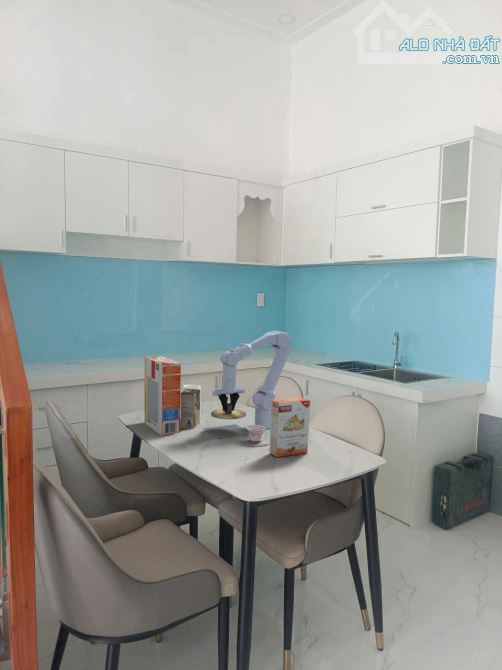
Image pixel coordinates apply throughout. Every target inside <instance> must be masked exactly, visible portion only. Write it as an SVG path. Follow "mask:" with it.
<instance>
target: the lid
mask: <svg viewBox="0 0 502 670" xmlns="http://www.w3.org/2000/svg"><path fill="white" fill-rule="evenodd" d="M210 416H211V417H212V418H214V419H215V418H216V419H219V420H239V419H242V418H245V417H246V416H247V413H246V411H244V410H242V409H234V411H232V403H230V402H227V412H224V411H223V408H220V409H214V410H212V411H211V412H210Z"/></svg>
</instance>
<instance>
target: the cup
mask: <svg viewBox="0 0 502 670" xmlns="http://www.w3.org/2000/svg"><path fill="white" fill-rule="evenodd" d="M187 389H195V390H200V413H201V412H202V411H201V409H202V407H201V405H202V404H201V402H202V401H201V399H202V398H201V397H202V386H201V385H199V384H184V385H183V387H182V392H183V391H185V390H187Z"/></svg>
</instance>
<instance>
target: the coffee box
mask: <svg viewBox="0 0 502 670" xmlns="http://www.w3.org/2000/svg"><path fill="white" fill-rule="evenodd" d="M200 421H201V412H200V390H195V389H187V390H185V391H183V390H182V392H180V429H182V428H183V429H192V430H193V429H195V428H196V427H197V426H199V425H200V424H201V422H200Z"/></svg>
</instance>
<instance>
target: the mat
mask: <svg viewBox="0 0 502 670" xmlns="http://www.w3.org/2000/svg"><path fill="white" fill-rule="evenodd" d="M202 429H203V430H204V431H206V432H208V433H209V434H211V435H213V436H215V437H216V438H218V439H227V438H231V437H232V438H233V437H240V436H247V435H248V436H249V434H248V431H247V430H246V428H243V427H241V426H239V425H237V424H228V425H227V424H226V425H220V426H212V427H204V428H202Z"/></svg>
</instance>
